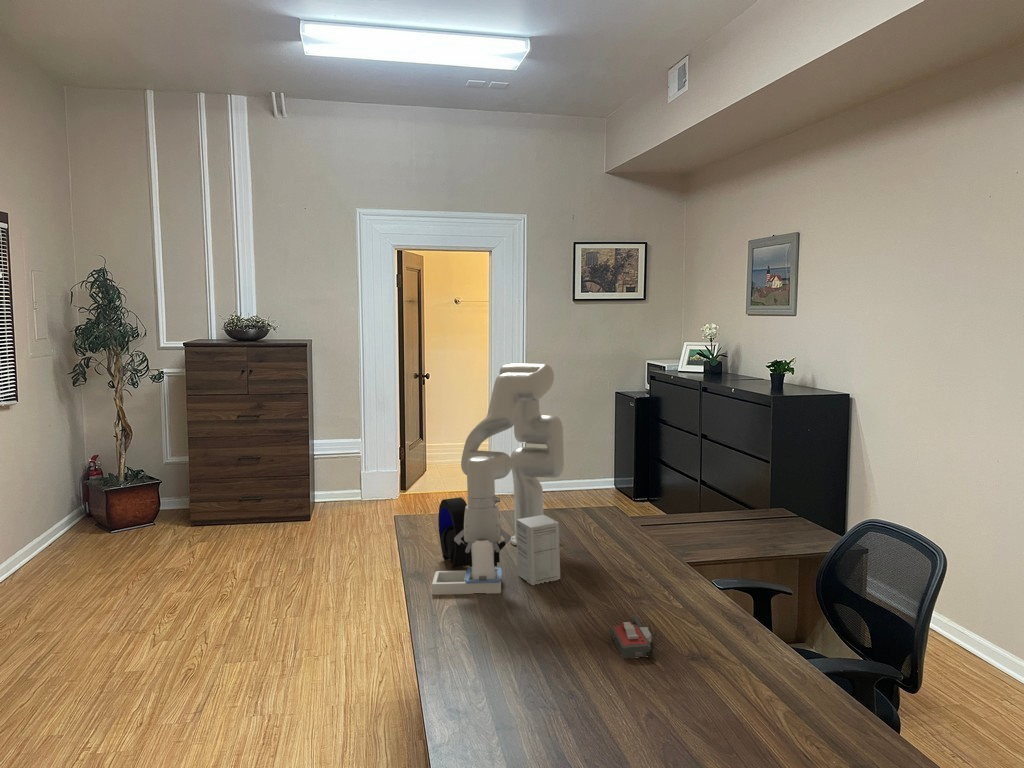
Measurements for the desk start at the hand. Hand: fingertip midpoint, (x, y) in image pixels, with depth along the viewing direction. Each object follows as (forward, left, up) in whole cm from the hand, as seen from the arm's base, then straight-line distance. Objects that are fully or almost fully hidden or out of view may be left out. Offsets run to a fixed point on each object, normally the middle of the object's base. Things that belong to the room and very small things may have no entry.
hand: (483, 564), depth 198 cm
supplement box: (-16, -6, -7) cm, 18 cm away
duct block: (+4, 0, -6) cm, 8 cm away
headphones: (+9, -19, -7) cm, 22 cm away
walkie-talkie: (-36, +34, -7) cm, 50 cm away
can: (0, 0, -4) cm, 4 cm away
